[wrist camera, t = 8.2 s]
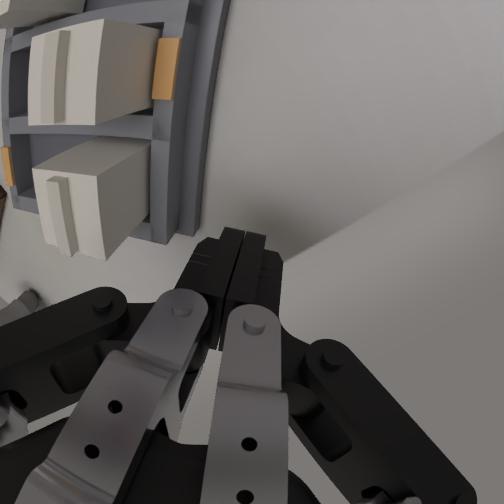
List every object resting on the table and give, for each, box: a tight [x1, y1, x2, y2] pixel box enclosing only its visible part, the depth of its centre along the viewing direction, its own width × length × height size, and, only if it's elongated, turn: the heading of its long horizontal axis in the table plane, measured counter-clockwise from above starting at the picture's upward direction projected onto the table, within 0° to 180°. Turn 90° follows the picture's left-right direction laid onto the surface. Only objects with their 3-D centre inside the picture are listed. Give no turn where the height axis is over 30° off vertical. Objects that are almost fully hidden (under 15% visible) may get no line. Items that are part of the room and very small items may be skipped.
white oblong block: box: [32, 135, 151, 261], centre depth 13 cm, size 4×4×7 cm
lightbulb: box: [0, 291, 39, 326], centre depth 23 cm, size 6×6×11 cm
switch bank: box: [1, 0, 230, 245], centre depth 12 cm, size 16×20×4 cm
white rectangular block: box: [28, 19, 163, 126], centre depth 10 cm, size 4×4×7 cm
